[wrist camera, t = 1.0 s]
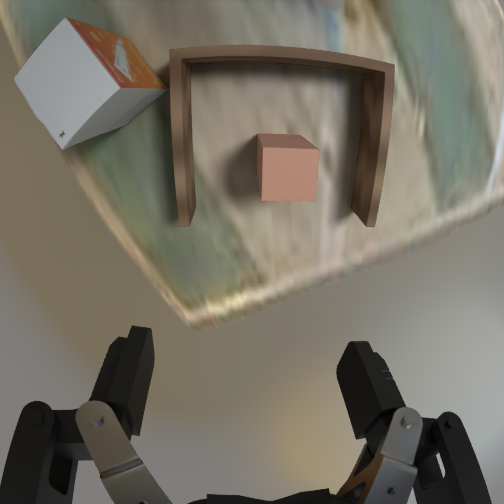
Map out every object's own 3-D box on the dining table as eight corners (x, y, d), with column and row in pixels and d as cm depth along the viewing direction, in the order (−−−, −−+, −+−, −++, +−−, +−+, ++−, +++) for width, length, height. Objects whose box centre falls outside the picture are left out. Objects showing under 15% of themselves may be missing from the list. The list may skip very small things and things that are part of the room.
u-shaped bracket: (181, 56, 24) (169, 49, 19) (373, 66, 24) (394, 64, 20) (187, 207, 32) (179, 227, 28) (358, 208, 33) (374, 227, 29)
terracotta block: (257, 133, 28) (262, 147, 22) (300, 135, 29) (319, 149, 22) (256, 174, 31) (261, 200, 24) (297, 175, 31) (314, 201, 24)
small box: (170, 89, 25) (123, 88, 14) (125, 126, 27) (60, 153, 16) (129, 37, 22) (64, 14, 11) (86, 76, 23) (10, 81, 12)
